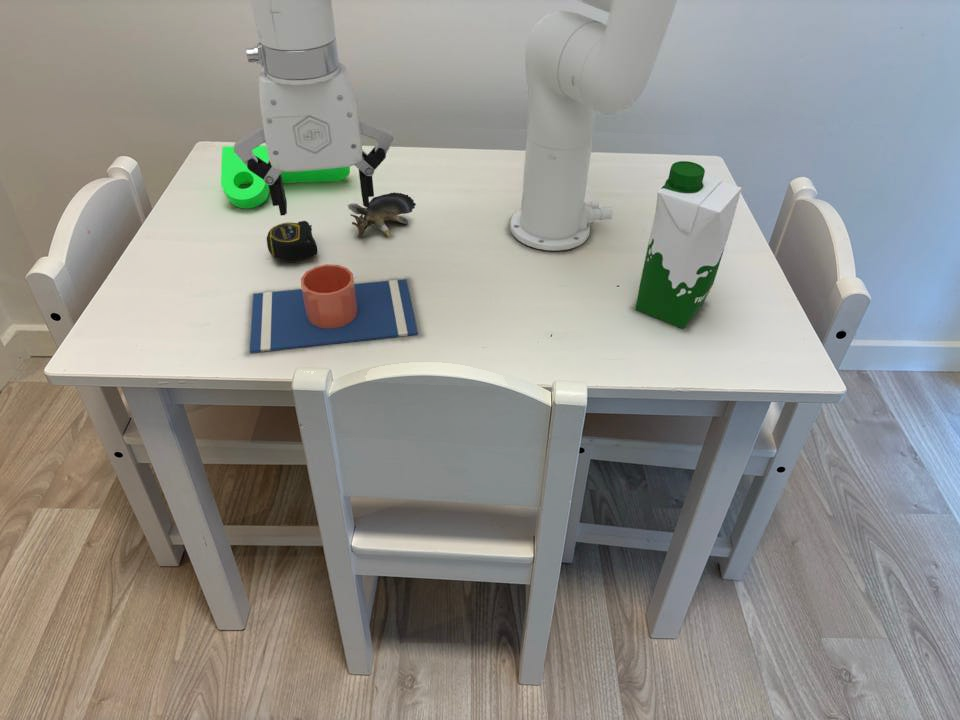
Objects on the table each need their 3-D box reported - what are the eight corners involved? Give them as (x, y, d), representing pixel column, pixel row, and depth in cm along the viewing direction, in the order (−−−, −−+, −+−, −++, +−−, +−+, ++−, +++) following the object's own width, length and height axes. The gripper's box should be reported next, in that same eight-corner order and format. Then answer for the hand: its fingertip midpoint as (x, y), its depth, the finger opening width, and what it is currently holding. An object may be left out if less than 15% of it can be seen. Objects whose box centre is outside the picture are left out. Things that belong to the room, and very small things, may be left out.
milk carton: (652, 280, 100) (683, 150, 86) (712, 303, 96) (754, 171, 82) (625, 310, 94) (654, 176, 81) (688, 336, 90) (729, 199, 77)
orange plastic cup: (355, 295, 94) (351, 261, 91) (359, 326, 90) (355, 292, 86) (306, 300, 93) (300, 266, 90) (307, 331, 88) (301, 297, 85)
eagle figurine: (379, 247, 102) (425, 217, 105) (353, 203, 100) (401, 174, 103) (360, 250, 108) (404, 222, 112) (336, 209, 106) (382, 182, 109)
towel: (406, 281, 98) (406, 278, 98) (417, 334, 89) (417, 332, 89) (253, 295, 94) (253, 293, 94) (250, 353, 86) (249, 350, 85)
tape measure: (320, 262, 101) (316, 241, 98) (272, 270, 99) (267, 247, 96) (313, 238, 105) (310, 217, 103) (267, 244, 104) (263, 223, 101)
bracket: (232, 222, 115) (219, 200, 108) (234, 171, 118) (221, 146, 111) (353, 218, 117) (348, 196, 110) (351, 168, 120) (346, 143, 113)
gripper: (210, 76, 66) (249, 229, 78) (389, 65, 69) (401, 214, 80) (215, 49, 71) (251, 196, 83) (382, 39, 74) (394, 183, 86)
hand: (325, 205), depth 82 cm, fingers open, 9 cm apart
